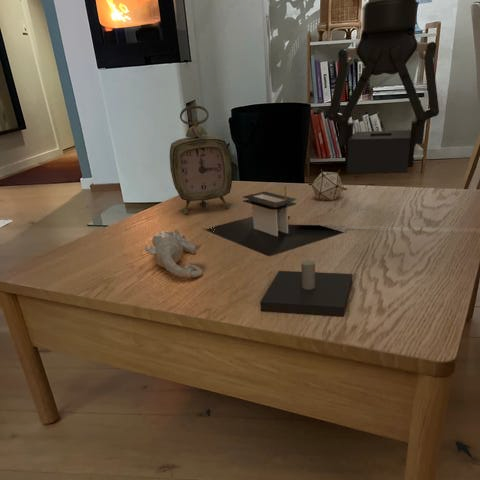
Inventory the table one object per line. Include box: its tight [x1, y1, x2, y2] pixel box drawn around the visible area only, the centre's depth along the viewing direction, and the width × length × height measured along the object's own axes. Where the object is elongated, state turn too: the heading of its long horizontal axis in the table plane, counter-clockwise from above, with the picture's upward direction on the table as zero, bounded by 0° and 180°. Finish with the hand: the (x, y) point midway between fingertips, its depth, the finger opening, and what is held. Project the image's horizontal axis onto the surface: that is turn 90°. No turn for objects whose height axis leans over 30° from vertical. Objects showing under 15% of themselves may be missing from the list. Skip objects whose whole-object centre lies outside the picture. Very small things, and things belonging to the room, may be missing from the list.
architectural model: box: [203, 186, 344, 257], centre depth 101 cm, size 20×25×10 cm
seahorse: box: [144, 228, 204, 279], centre depth 89 cm, size 5×12×20 cm
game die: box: [307, 169, 348, 201], centre depth 119 cm, size 9×8×10 cm
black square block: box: [346, 129, 411, 174], centre depth 76 cm, size 9×9×5 cm
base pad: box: [259, 259, 353, 317], centre depth 72 cm, size 12×12×6 cm
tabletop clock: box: [169, 104, 233, 216], centre depth 119 cm, size 14×9×25 cm, turn 104°
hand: (378, 165), depth 77 cm, fingers closed on black square block, 9 cm apart
